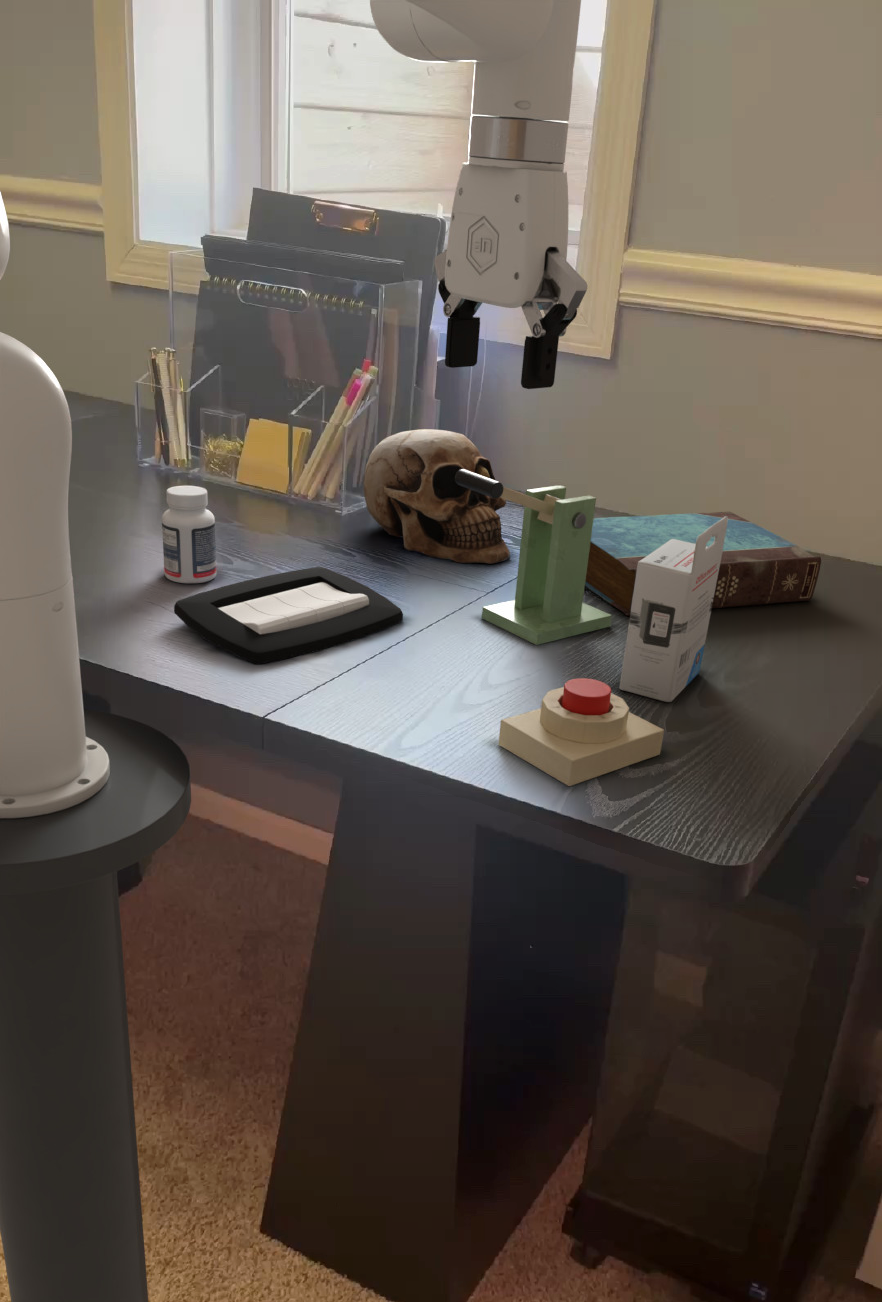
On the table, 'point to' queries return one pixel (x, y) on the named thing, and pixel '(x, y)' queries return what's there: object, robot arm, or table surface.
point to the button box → (579, 739)
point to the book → (749, 556)
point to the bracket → (552, 574)
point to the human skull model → (434, 496)
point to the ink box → (671, 615)
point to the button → (586, 696)
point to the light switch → (287, 614)
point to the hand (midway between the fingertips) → (497, 376)
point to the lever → (506, 493)
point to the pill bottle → (188, 536)
